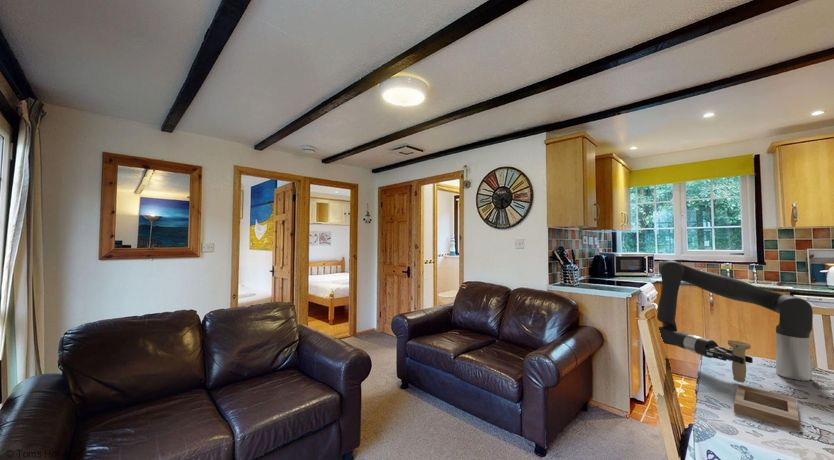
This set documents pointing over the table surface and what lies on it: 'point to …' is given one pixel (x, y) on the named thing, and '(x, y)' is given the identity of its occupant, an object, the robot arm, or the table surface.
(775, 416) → the wooden rectangular frame
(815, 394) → the table surface
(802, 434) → the table surface
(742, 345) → the handle
